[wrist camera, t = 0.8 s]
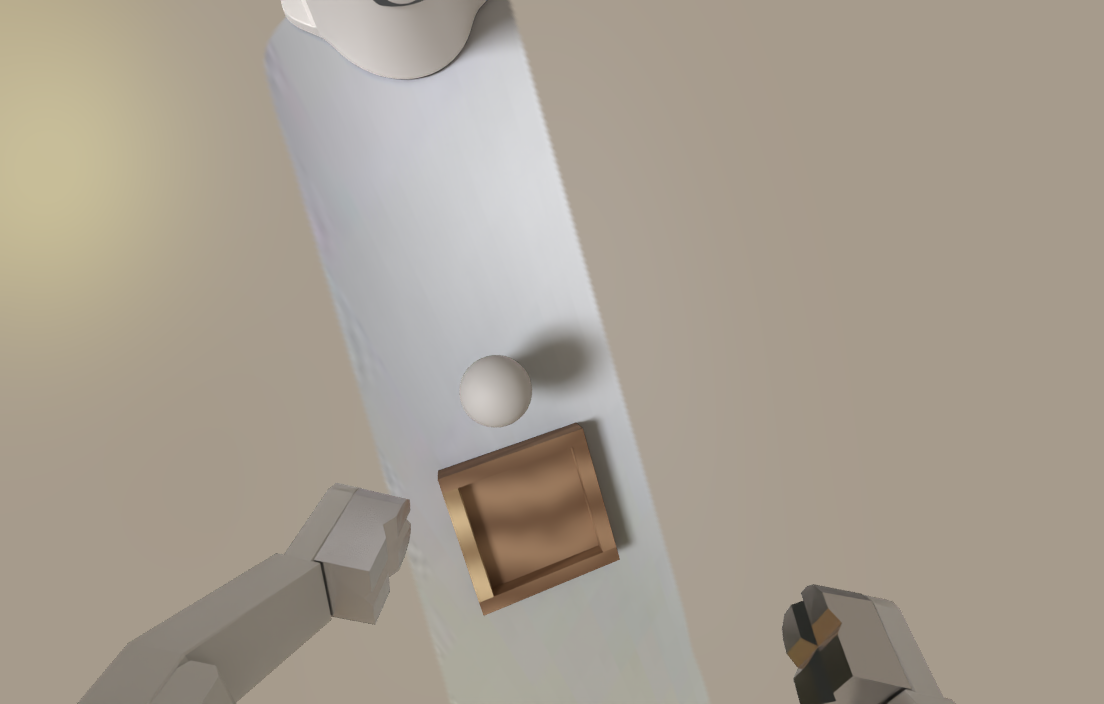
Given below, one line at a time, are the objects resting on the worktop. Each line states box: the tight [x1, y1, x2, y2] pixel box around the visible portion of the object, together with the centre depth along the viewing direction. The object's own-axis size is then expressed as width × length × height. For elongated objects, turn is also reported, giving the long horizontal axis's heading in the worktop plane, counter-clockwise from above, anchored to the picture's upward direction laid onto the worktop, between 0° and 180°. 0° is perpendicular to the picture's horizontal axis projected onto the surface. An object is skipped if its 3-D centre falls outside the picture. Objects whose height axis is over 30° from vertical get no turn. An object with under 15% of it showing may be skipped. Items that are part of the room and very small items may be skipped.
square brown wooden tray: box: [438, 423, 620, 615], centre depth 49 cm, size 15×15×2 cm
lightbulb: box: [460, 355, 532, 427], centre depth 43 cm, size 6×6×11 cm
